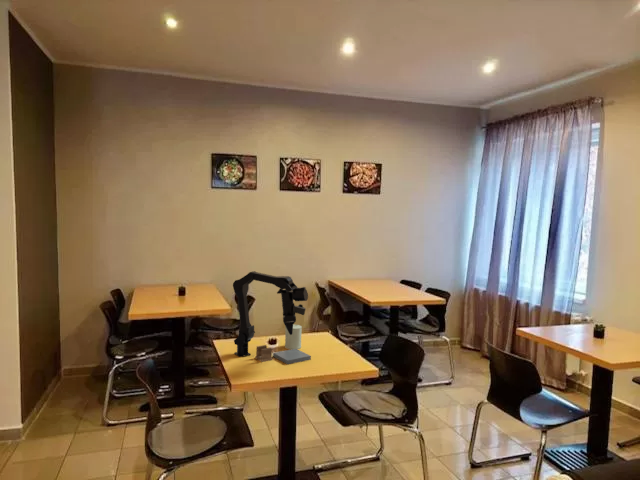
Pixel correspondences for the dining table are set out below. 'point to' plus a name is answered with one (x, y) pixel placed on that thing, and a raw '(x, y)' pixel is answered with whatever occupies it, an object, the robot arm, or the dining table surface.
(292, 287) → the robot arm
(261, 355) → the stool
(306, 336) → the dining table surface
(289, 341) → the can
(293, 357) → the slab
